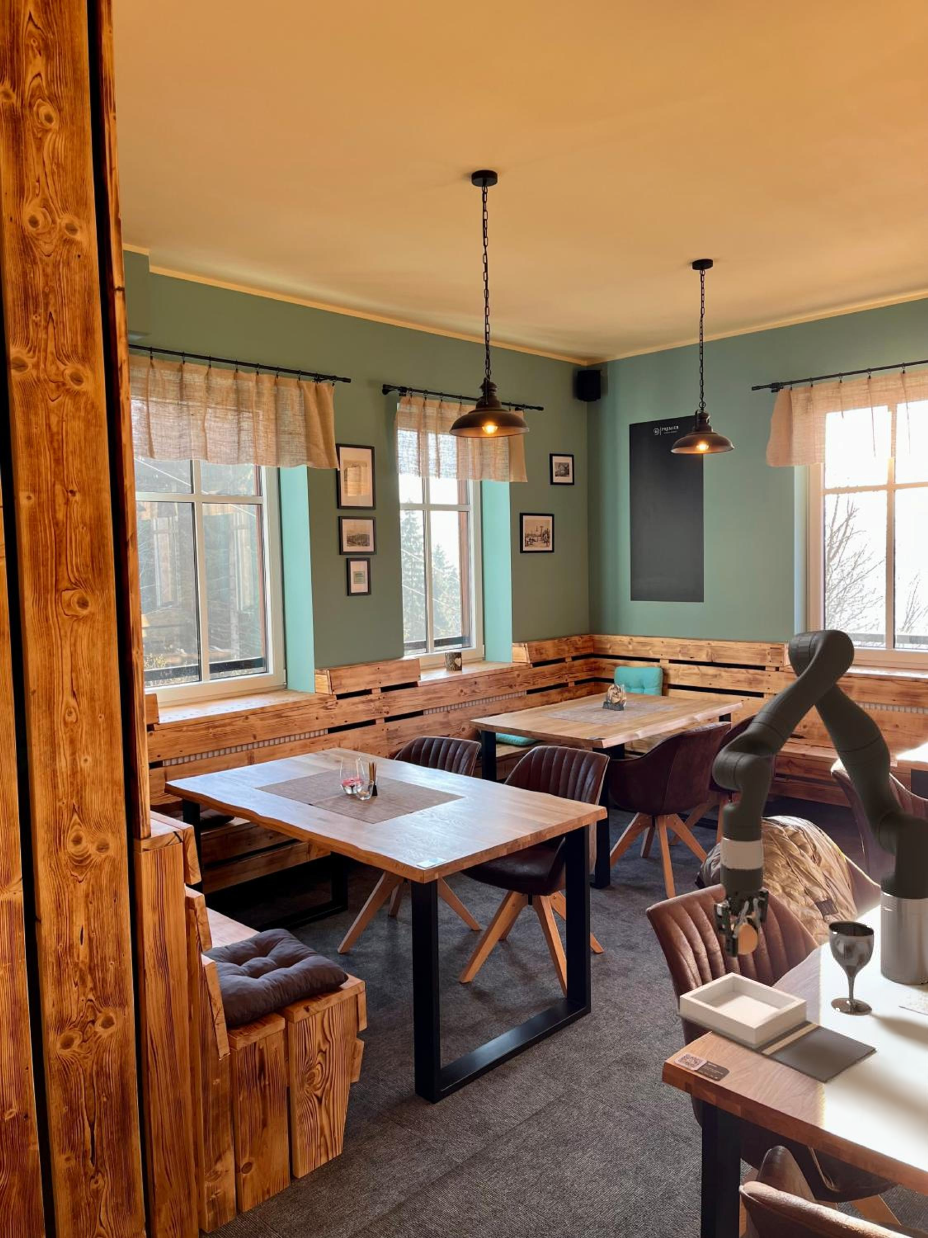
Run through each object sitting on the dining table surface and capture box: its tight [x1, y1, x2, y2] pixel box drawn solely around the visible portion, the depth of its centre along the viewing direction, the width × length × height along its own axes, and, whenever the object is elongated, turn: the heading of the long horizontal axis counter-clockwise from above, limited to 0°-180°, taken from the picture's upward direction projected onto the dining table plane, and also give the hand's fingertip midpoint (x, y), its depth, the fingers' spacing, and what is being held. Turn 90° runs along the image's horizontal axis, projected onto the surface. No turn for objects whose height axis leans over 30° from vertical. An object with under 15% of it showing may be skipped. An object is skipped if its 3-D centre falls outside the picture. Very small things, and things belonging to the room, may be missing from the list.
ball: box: [731, 921, 759, 955], centre depth 167 cm, size 6×6×6 cm
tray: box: [679, 972, 807, 1049], centre depth 168 cm, size 16×16×4 cm
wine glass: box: [828, 920, 875, 1016], centre depth 172 cm, size 8×8×15 cm
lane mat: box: [675, 1011, 876, 1084], centre depth 163 cm, size 16×30×1 cm, turn 38°
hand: (741, 951), depth 167 cm, fingers closed on ball, 5 cm apart
